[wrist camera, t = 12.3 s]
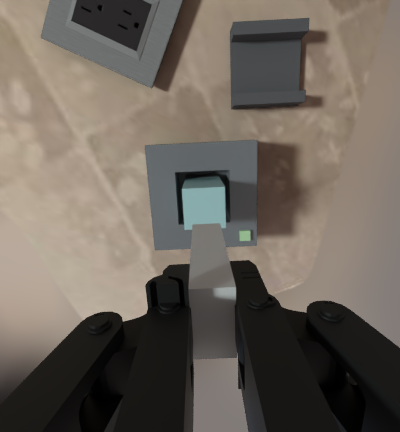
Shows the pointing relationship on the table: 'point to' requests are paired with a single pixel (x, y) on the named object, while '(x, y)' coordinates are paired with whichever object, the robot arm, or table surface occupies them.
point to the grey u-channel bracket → (266, 63)
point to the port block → (202, 165)
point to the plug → (203, 200)
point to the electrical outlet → (114, 33)
